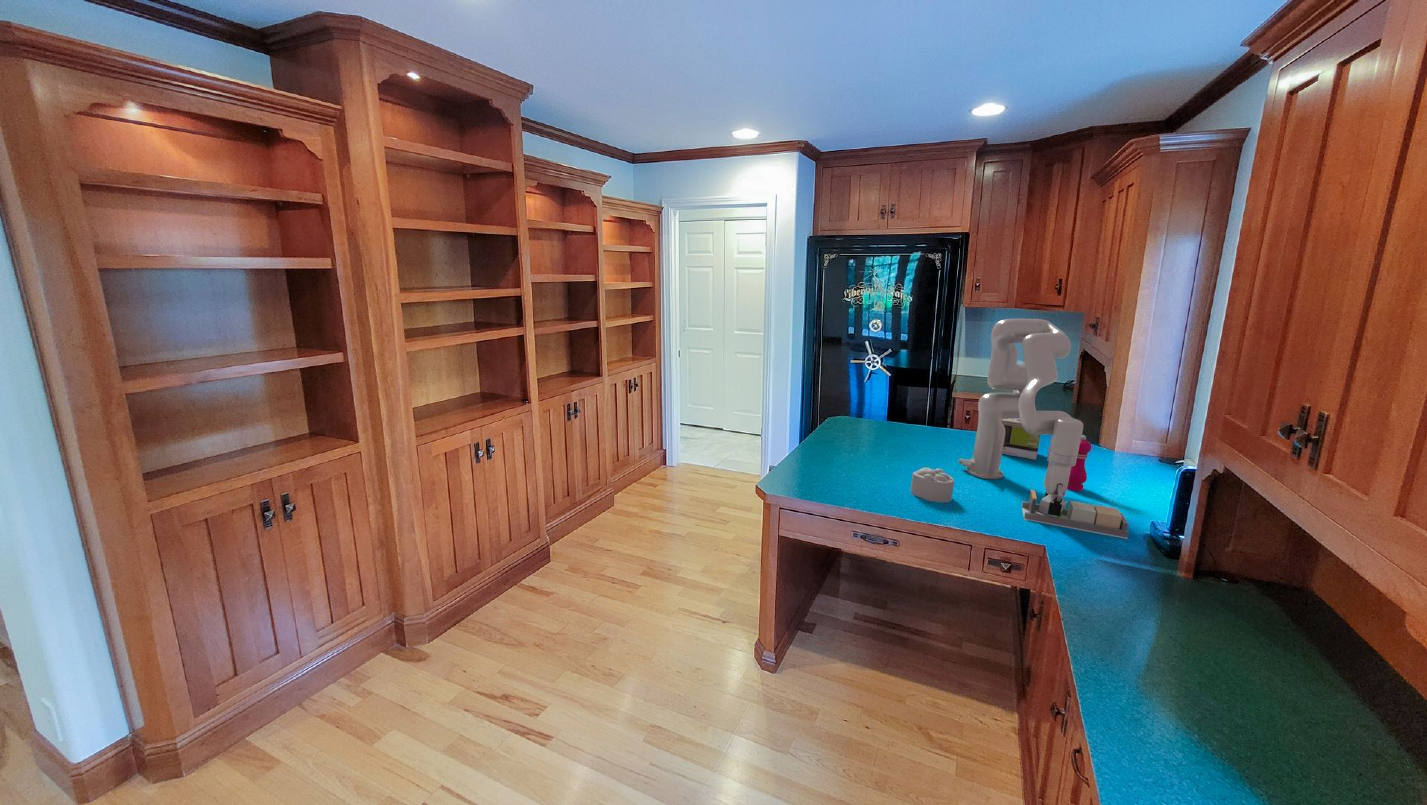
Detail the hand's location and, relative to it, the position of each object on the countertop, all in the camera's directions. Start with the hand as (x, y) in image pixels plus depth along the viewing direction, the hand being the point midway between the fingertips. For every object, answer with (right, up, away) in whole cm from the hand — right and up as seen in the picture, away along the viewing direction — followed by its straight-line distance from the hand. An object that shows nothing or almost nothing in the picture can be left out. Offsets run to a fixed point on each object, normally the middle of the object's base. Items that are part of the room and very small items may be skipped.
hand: (1051, 508), depth 175 cm
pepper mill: (+23, +2, +26) cm, 35 cm away
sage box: (+7, -4, -2) cm, 9 cm away
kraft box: (+13, -5, -5) cm, 15 cm away
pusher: (-5, -2, +3) cm, 6 cm away
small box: (0, -2, +1) cm, 2 cm away
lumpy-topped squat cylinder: (-31, +1, +17) cm, 35 cm away
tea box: (+21, +12, +60) cm, 64 cm away
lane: (+5, -5, -1) cm, 7 cm away
